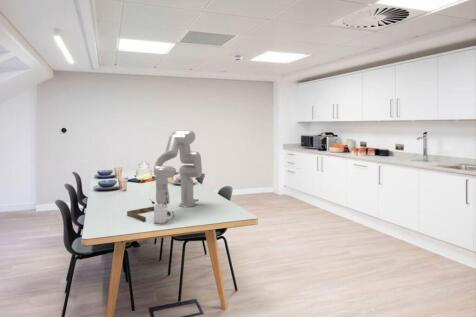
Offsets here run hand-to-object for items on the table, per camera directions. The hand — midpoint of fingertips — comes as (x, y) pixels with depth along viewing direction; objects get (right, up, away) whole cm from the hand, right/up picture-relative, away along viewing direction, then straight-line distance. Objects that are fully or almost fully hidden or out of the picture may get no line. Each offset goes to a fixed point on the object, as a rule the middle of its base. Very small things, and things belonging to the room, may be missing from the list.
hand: (162, 213), depth 241 cm
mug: (+1, -4, -5) cm, 6 cm away
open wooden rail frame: (-11, -3, +13) cm, 17 cm away
